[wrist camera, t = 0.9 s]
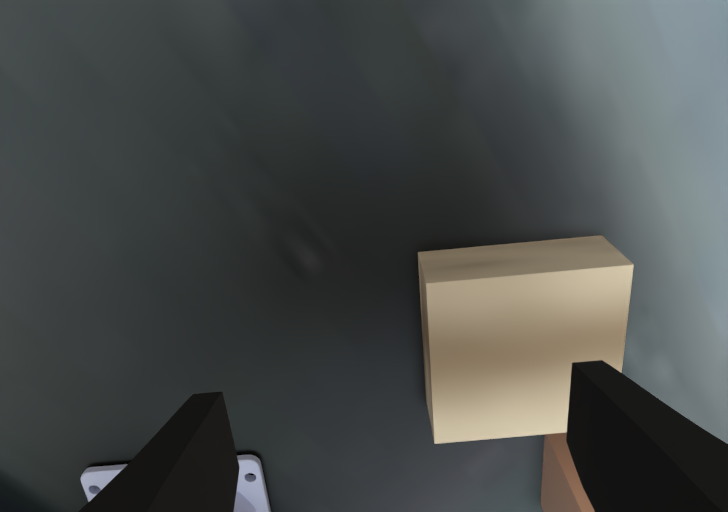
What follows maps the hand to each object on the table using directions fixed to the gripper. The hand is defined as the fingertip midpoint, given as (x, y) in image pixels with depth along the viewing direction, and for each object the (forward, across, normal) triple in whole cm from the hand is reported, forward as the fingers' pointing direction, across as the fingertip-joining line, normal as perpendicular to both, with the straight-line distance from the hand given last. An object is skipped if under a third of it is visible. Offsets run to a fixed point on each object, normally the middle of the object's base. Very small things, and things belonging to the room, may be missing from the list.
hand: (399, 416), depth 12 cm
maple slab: (+11, -5, +4) cm, 13 cm away
